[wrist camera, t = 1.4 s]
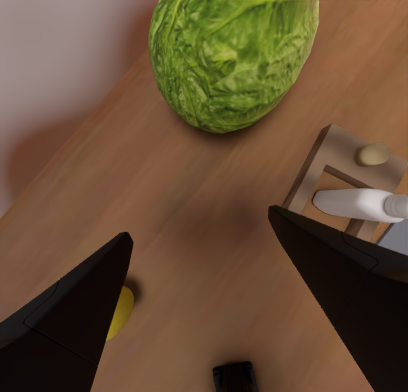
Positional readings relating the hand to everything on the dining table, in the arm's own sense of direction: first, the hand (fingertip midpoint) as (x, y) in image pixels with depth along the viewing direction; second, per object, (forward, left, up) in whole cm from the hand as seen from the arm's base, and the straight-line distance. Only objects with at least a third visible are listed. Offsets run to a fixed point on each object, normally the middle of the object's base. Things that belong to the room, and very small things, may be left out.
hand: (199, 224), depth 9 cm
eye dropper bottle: (-3, -20, -16) cm, 26 cm away
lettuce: (+19, -10, -16) cm, 26 cm away
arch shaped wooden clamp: (-1, -22, -15) cm, 27 cm away
